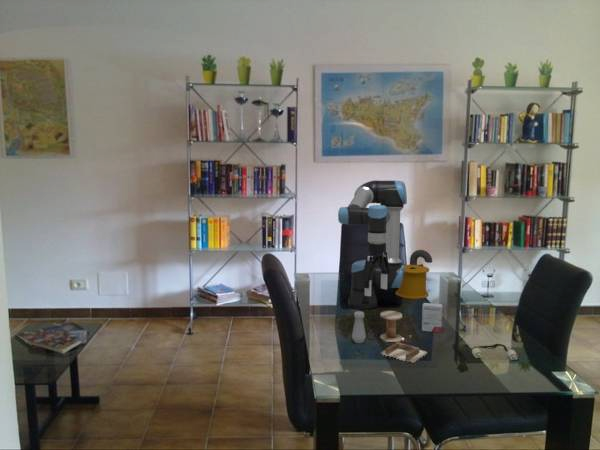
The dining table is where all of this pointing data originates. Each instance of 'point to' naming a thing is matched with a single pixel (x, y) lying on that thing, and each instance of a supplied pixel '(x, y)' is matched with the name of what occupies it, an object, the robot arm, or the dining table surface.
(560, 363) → the dining table surface
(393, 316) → the bobbin
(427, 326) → the ink box
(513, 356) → the cable
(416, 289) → the spool
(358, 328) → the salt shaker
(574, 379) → the dining table surface
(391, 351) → the board
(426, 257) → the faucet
